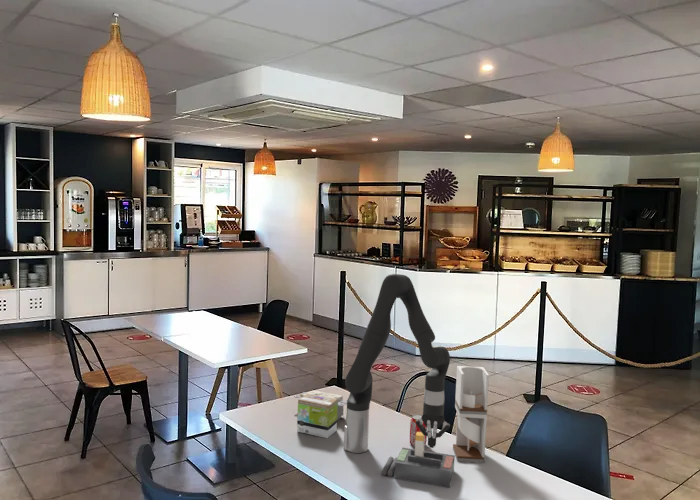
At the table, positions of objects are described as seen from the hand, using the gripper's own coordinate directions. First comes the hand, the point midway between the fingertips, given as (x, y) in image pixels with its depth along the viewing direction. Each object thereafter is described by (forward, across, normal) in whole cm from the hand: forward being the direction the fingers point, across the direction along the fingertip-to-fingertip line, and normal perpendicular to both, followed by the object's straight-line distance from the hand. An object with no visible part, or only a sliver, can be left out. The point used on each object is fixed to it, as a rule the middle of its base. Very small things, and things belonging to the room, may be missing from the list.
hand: (431, 446), depth 214 cm
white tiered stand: (+11, -12, -23) cm, 28 cm away
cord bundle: (+11, +15, 0) cm, 19 cm away
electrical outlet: (+11, +57, -43) cm, 73 cm away
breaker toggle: (+5, +4, 0) cm, 6 cm away
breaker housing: (+11, +2, 0) cm, 11 cm away
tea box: (+11, +53, -24) cm, 59 cm away
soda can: (+11, +9, -26) cm, 30 cm away
